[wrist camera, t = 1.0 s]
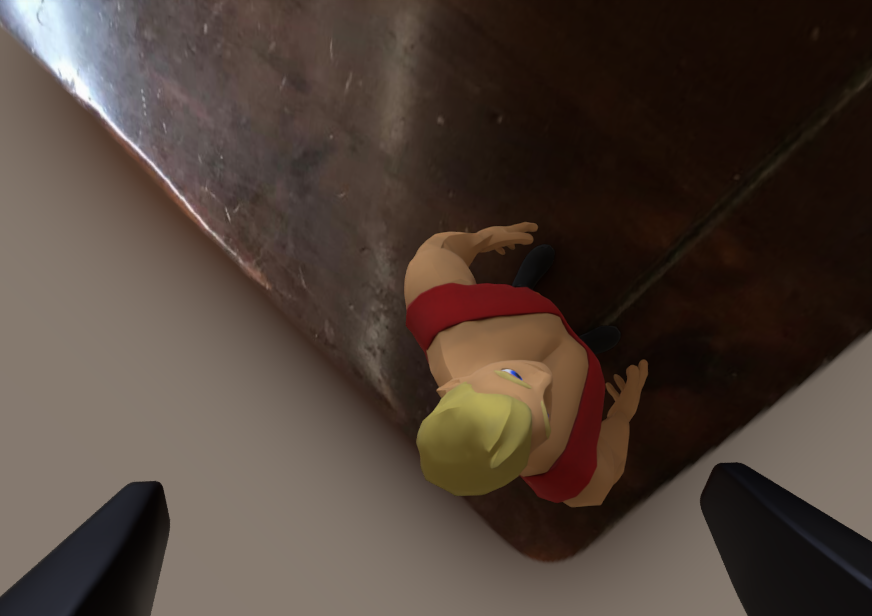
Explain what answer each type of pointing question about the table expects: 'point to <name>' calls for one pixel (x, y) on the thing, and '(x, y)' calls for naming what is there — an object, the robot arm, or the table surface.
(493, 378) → the action figure
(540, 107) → the table surface
